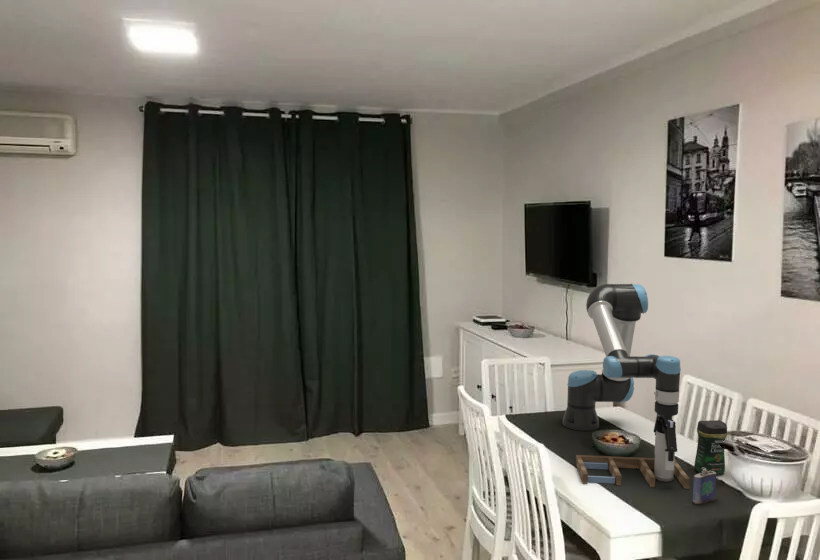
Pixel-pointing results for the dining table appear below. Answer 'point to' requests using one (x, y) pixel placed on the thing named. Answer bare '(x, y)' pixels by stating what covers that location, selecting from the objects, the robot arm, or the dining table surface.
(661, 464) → the travel mug
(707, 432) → the coffee jar
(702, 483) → the flask
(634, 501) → the dining table surface
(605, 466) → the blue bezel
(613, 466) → the divider rack
